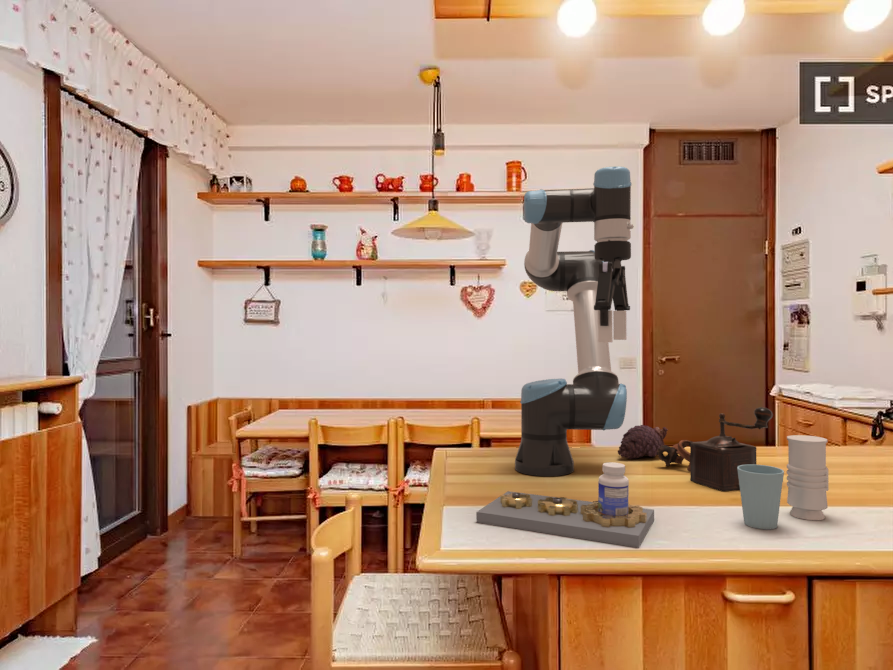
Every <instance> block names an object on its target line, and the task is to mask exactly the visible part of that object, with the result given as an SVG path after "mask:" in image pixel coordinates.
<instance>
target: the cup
mask: <svg viewBox="0 0 893 670" xmlns="http://www.w3.org/2000/svg"><path fill="white" fill-rule="evenodd" d="M737 470H738V478H739V485H740V490H739V492H740V499H741V501H740V502H741V508H742V518H743V523H744V525H746V526H748V527H751V528H753V529H759V530H774V529H777V527H778V524H779V514H780V507H781V497H782V491H783V490H782V489H783V483H784V475H785V471H784V469H781V468H780V467H776V466H772V465H767V464H765V465H764V464H756V465H755V464H748V465H740V466H738V467H737Z"/></svg>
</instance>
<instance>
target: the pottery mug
mask: <svg viewBox="0 0 893 670" xmlns="http://www.w3.org/2000/svg"><path fill="white" fill-rule="evenodd" d="M691 442H693V441H692V440H688V439H682V440H680V441H679V442H678V443H674V445H672V446H670V445H666V444H664V445H663V446H661V447H659V449H658V450H657V454H658V455H657V457H658V458H659V459H660V460H661V461H662V462H664V464H665V466H666V467H669V466H671V464H674V463H675V464H678V465H682V464H683V461H684V460H686V461H687V462H688V466H687V467H686V468H687V469H686V470H687V471H688V472H689V473H690V452H689V451H688V450H686V449H685V448H686V447H687V446H689V447H690V444H691ZM664 452H665V453H667V454H666V455H664Z"/></svg>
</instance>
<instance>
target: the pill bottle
mask: <svg viewBox="0 0 893 670" xmlns="http://www.w3.org/2000/svg"><path fill="white" fill-rule="evenodd" d="M602 472H603V474H601V475H600V476H599V477H598V482H597V483H598V485H597V486H598V490H597V491H598V494H597V495H598V498H597V499H598V500H597V501H598V513H601V514H604V515H612V516H625V515H628V504H629V494H630V492H629V491H630V489H629V487H630V486H629V485H630V482H629V481H630V480H629V478H628V477H627V476H626V475H625V474H626V465H625V464H624V463H620V462H612V461H611V462H603V464H602Z"/></svg>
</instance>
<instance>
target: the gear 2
mask: <svg viewBox="0 0 893 670" xmlns="http://www.w3.org/2000/svg"><path fill="white" fill-rule="evenodd" d="M592 502H593V503H592V504H588V505H582V506H581V514H583V520H585V521H586V522H590V521H592V522H595V523H598V524H602V526H604V527H610V526H626V527H628V528H630V527H635V524H638V523H640V522H642V523H646V521H647V513H643V508H644V507H642V506H640V505H632V504H629V503H628V515H625V516H612V515H604V514H601V513H598V500H595V501H592Z"/></svg>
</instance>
